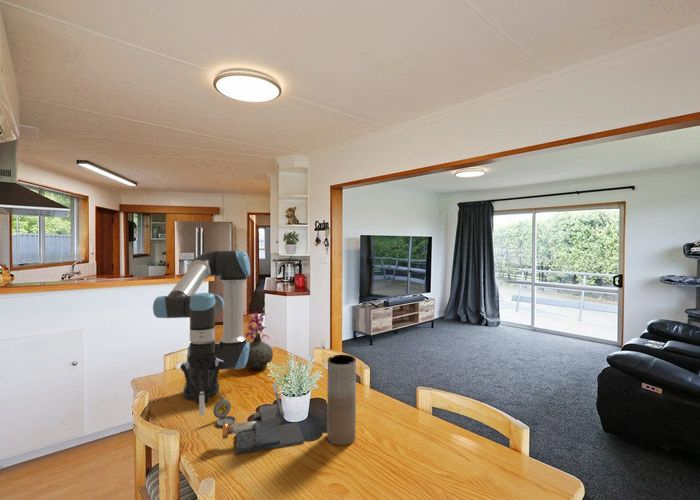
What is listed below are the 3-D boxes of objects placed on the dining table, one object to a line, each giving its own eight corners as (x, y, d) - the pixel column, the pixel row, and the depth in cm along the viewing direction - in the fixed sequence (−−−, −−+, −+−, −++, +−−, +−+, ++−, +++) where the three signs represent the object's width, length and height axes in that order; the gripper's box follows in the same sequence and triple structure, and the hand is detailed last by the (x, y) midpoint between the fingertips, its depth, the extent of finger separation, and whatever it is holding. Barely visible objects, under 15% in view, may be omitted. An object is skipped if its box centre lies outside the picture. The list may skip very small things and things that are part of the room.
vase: (235, 372, 179) (235, 315, 178) (250, 361, 196) (250, 309, 195) (265, 374, 176) (265, 317, 175) (277, 363, 193) (277, 310, 193)
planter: (359, 433, 122) (359, 356, 121) (350, 448, 112) (350, 365, 112) (333, 427, 125) (333, 353, 125) (322, 442, 116) (323, 361, 115)
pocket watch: (229, 428, 124) (229, 401, 124) (208, 426, 126) (208, 399, 126) (240, 417, 132) (240, 392, 132) (221, 415, 134) (221, 390, 134)
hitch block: (236, 435, 120) (236, 408, 120) (298, 425, 127) (298, 399, 127) (236, 455, 108) (236, 425, 108) (304, 442, 115) (304, 415, 115)
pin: (223, 434, 115) (223, 419, 115) (268, 426, 120) (268, 412, 120) (222, 442, 110) (222, 427, 110) (270, 434, 115) (270, 419, 115)
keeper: (278, 406, 122) (271, 383, 122) (281, 405, 123) (275, 382, 122) (280, 417, 115) (274, 393, 114) (284, 415, 115) (277, 391, 114)
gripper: (178, 345, 105) (178, 422, 105) (223, 342, 109) (223, 415, 109) (182, 339, 112) (181, 411, 112) (224, 336, 116) (223, 405, 116)
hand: (202, 413), depth 110 cm, fingers closed
